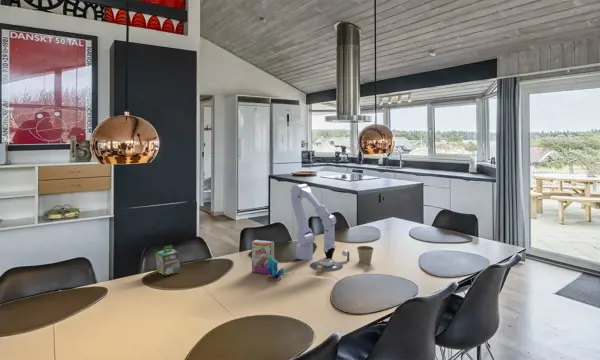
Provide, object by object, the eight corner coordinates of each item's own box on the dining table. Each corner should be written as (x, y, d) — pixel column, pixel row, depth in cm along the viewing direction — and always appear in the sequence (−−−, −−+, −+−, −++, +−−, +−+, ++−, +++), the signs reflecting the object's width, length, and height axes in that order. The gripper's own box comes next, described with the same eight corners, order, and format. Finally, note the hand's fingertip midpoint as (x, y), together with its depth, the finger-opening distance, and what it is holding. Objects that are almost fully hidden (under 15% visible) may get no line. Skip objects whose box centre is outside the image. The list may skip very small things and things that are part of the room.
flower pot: (373, 266, 201) (373, 250, 200) (356, 265, 203) (356, 250, 202) (373, 261, 210) (373, 246, 209) (357, 260, 212) (357, 245, 211)
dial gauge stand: (342, 262, 208) (342, 250, 208) (343, 260, 212) (343, 248, 211) (350, 263, 206) (350, 251, 206) (352, 261, 210) (352, 249, 209)
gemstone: (270, 283, 178) (270, 259, 177) (264, 277, 186) (264, 254, 185) (284, 280, 181) (284, 257, 180) (278, 275, 189) (278, 252, 187)
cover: (317, 267, 197) (317, 259, 196) (321, 262, 204) (321, 255, 204) (331, 268, 194) (331, 261, 194) (335, 264, 201) (335, 257, 201)
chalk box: (172, 268, 200) (171, 242, 198) (180, 273, 193) (179, 245, 192) (156, 273, 193) (154, 245, 192) (163, 277, 187) (162, 249, 185)
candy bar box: (251, 272, 193) (250, 242, 191) (255, 269, 198) (255, 239, 196) (271, 274, 189) (270, 243, 188) (275, 271, 194) (274, 241, 192)
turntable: (303, 271, 192) (302, 265, 191) (316, 259, 211) (316, 254, 210) (336, 276, 185) (336, 269, 185) (346, 263, 204) (346, 257, 204)
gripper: (332, 241, 194) (332, 266, 196) (339, 234, 208) (339, 258, 209) (319, 239, 197) (319, 264, 198) (328, 233, 210) (328, 256, 212)
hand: (329, 261), depth 204 cm, fingers closed
